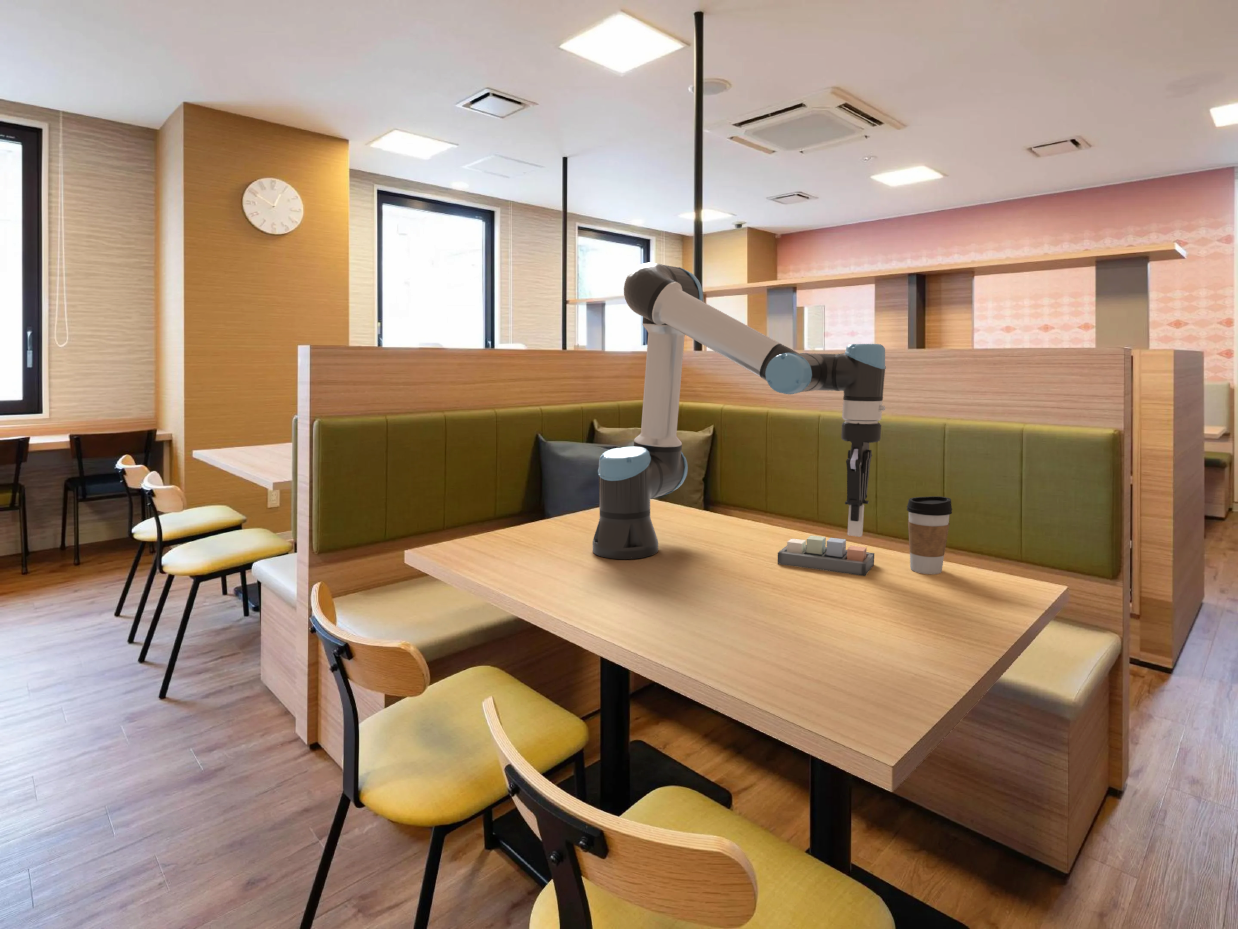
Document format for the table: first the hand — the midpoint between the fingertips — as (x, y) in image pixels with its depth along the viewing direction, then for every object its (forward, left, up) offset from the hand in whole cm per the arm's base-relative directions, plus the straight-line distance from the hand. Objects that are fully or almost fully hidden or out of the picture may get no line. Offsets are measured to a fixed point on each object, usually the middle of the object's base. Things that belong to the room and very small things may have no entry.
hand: (854, 535), depth 143 cm
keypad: (-6, 0, -7) cm, 9 cm away
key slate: (-4, 0, -5) cm, 6 cm away
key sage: (-8, 0, -5) cm, 9 cm away
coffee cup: (+13, +5, -7) cm, 16 cm away
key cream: (-12, 0, -6) cm, 13 cm away
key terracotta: (+1, 0, -6) cm, 6 cm away
